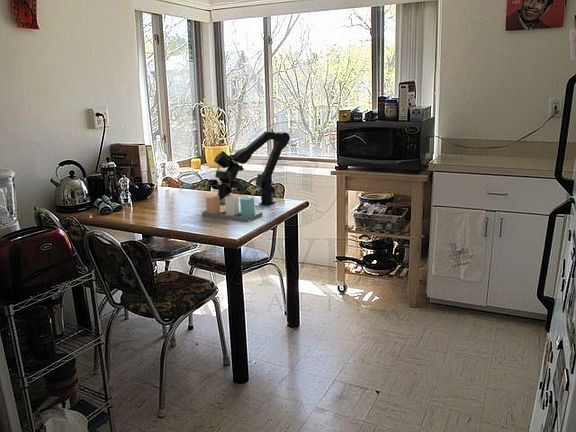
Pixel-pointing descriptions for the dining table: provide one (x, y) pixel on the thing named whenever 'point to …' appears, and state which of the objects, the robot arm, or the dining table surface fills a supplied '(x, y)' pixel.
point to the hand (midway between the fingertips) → (219, 199)
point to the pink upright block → (213, 204)
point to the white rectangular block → (232, 205)
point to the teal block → (247, 207)
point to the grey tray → (234, 217)
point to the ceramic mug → (223, 198)
